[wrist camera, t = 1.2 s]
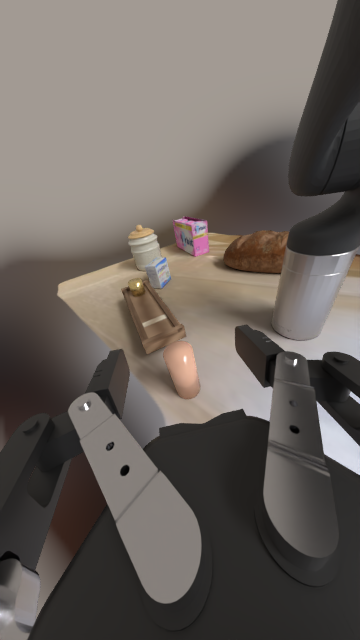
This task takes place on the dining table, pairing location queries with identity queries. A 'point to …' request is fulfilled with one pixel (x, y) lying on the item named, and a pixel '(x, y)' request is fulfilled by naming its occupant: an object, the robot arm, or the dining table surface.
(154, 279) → the medicine box
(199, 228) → the gum box
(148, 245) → the jar
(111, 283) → the dining table surface
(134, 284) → the brass weight
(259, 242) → the bread
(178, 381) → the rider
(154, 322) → the beam
